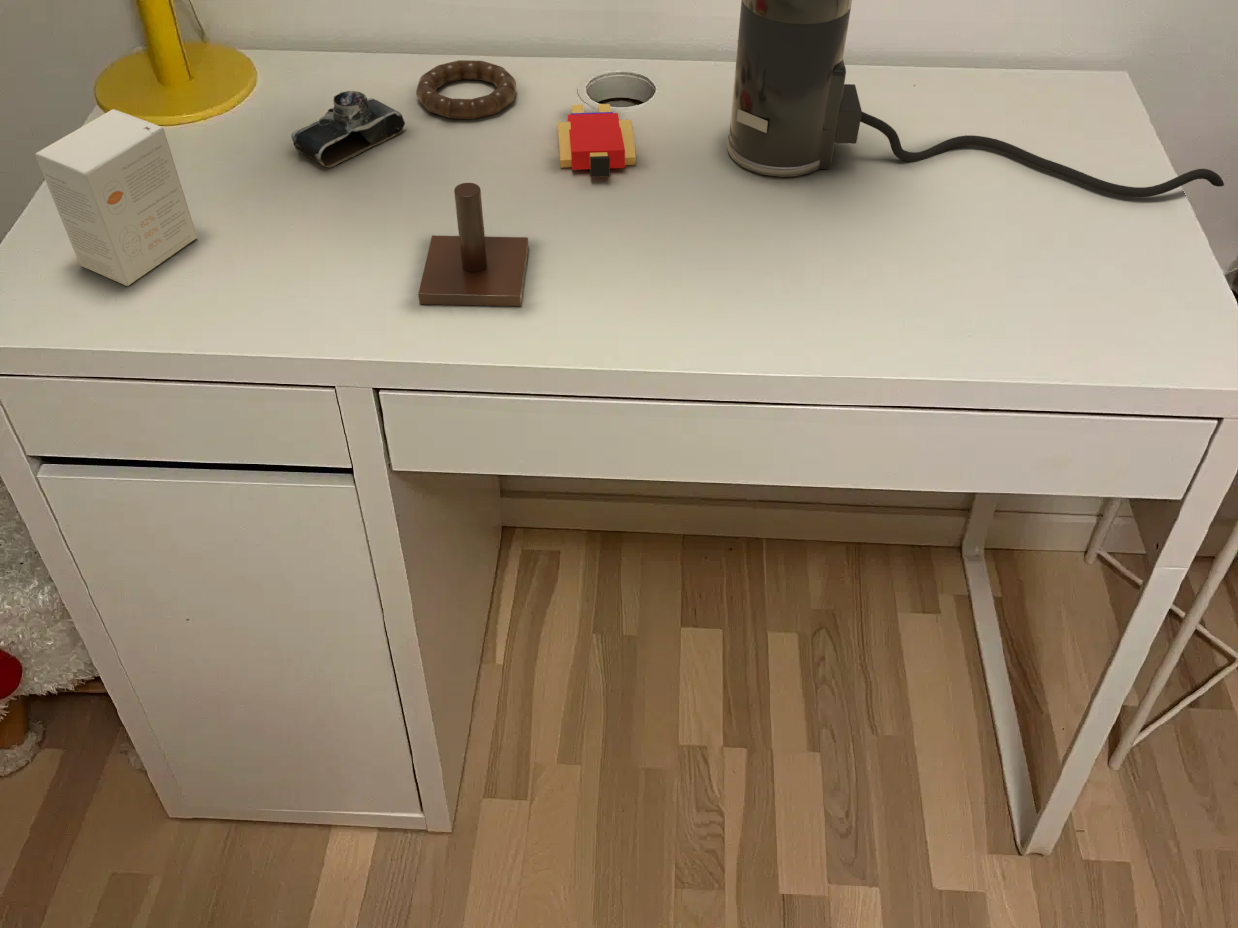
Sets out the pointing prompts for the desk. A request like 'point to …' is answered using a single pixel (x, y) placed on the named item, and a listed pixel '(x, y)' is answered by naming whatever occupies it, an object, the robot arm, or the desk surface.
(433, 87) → the ring
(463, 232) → the post
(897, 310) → the desk surface
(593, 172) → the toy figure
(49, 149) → the small box
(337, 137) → the camera
